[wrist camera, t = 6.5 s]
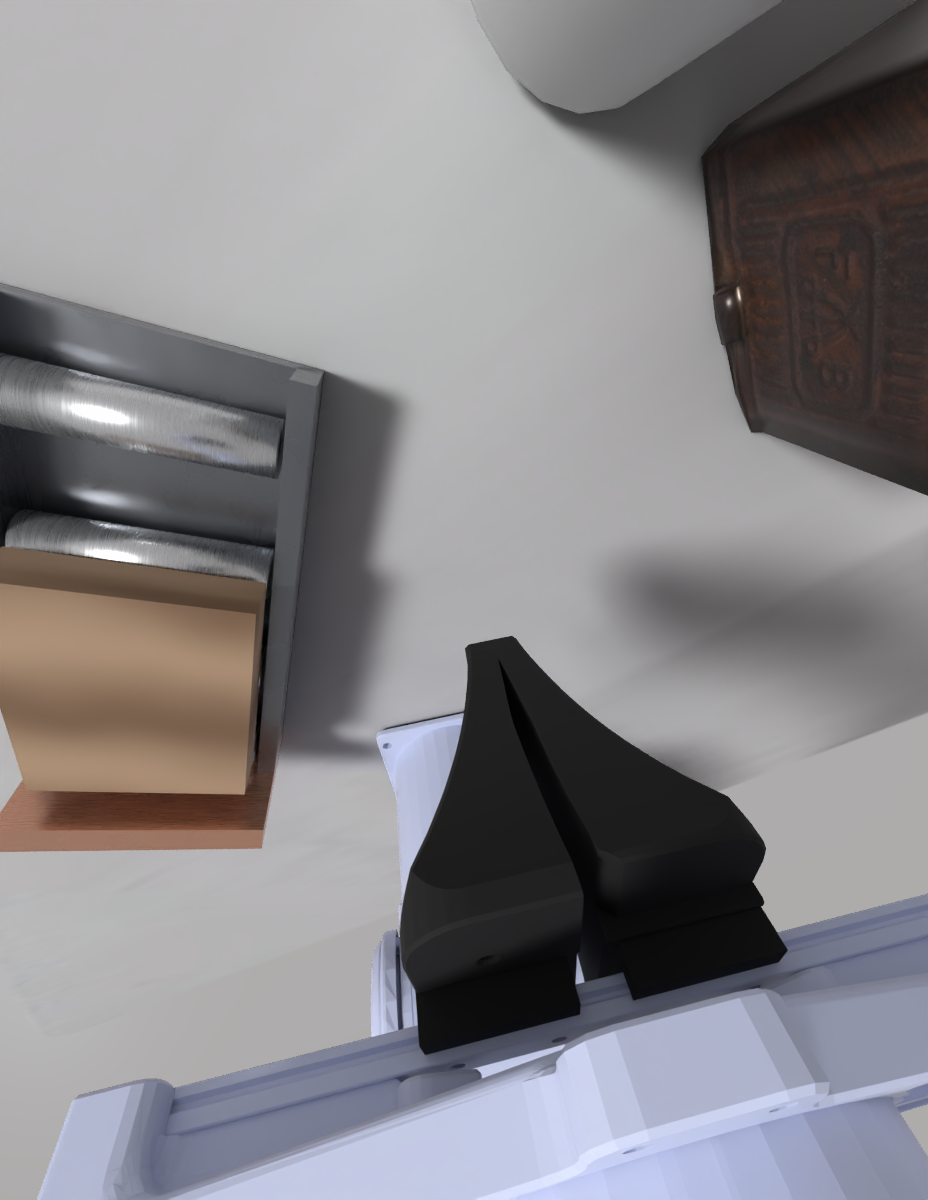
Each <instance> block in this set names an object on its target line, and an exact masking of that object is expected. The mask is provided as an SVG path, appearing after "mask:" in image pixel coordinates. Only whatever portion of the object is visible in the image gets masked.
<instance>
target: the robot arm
mask: <svg viewBox="0 0 928 1200" xmlns="http://www.w3.org/2000/svg"><path fill="white" fill-rule="evenodd" d="M465 651H466V657H467V664H468V681H467V692H466V702H465V709H464V713H461V714H457V715H452V716H447V717H443V718H438V719H433V720H429V721H424V722H419V723H415V724H410V725H405V726H401V727H396V728H391V729H386V730H382V731H380V732H379V733H378V734H377V744H378V747H379V749H380V752H381V755H382V758H383V761H384V763H385V766H386V769H387V772H388V775H389V778H390V780H391V783H392V786H393V789H394V792H395V794H396V802H397V820H398V838H399V856H400V874H401V893H402V904H400V905H399V906H398V908H399V927H400V937H399V936H398V932H397V930H392V931H387V932H385V933H384V935H383V938H382V941H380V943H379V944H378V946H377V947H376V949H375V950H374V953H373V960H372V974H371V1036H372V1037H370V1038H366V1039H362V1040H358V1041H354V1042H351V1043H347V1044H343V1045H339V1046H335V1047H331V1048H328V1049H323V1050H320V1051H316V1052H312V1053H308V1054H304V1055H300V1056H296V1057H293V1058H289V1059H285V1060H281V1061H277V1062H273V1063H269V1064H265V1065H261V1066H257V1067H254V1068H250V1069H246V1070H242V1071H238V1072H234V1073H231V1074H226V1075H223V1076H219V1077H215V1078H211V1079H207V1080H203V1081H199V1082H195V1083H192V1084H188V1085H184V1086H180V1087H176V1088H173V1086H172V1085H171V1084H169V1083H168V1082H167V1081H164V1080H161V1079H142V1080H136V1081H132V1082H128V1083H124V1084H120V1085H116V1086H112V1087H108V1088H105V1089H101V1090H97V1091H93V1092H89V1093H85V1094H81V1095H79V1096H78V1097H77V1098H75V1099H74V1100H73V1101H72V1103H71V1106H70V1109H69V1112H68V1114H67V1117H66V1120H65V1123H64V1126H63V1129H62V1131H61V1134H60V1137H59V1140H58V1143H57V1145H56V1148H55V1151H54V1154H53V1156H52V1159H51V1162H50V1165H49V1167H48V1170H47V1173H46V1176H45V1179H44V1181H43V1184H42V1187H41V1190H40V1192H39V1195H38V1198H37V1200H928V1156H927V1155H926V1153H925V1152H924V1150H923V1149H922V1147H921V1145H920V1144H919V1143H918V1141H917V1139H916V1138H915V1136H914V1134H913V1133H912V1131H911V1130H910V1128H909V1127H908V1125H907V1124H906V1122H905V1120H904V1119H903V1117H902V1116H901V1114H900V1113H901V1112H904V1111H907V1110H911V1109H914V1108H917V1107H920V1106H923V1105H927V1104H928V894H925V895H921V896H918V897H914V898H909V899H905V900H902V901H898V902H894V903H890V904H886V905H882V906H878V907H874V908H871V909H867V910H863V911H859V912H855V913H851V914H847V915H844V916H840V917H836V918H832V919H828V920H824V921H820V922H817V923H813V924H808V925H805V926H801V927H797V928H793V929H789V930H785V931H781V932H776V930H775V928H774V927H773V925H772V924H771V922H770V920H769V919H768V917H767V916H766V914H765V913H764V911H763V910H762V908H761V906H763V904H764V900H763V898H762V896H761V894H760V893H759V891H758V890H757V888H756V886H755V885H754V883H753V882H752V881H753V880H754V878H755V875H756V873H757V872H758V870H759V867H760V866H761V863H762V862H763V859H764V855H765V851H766V847H765V844H764V841H763V840H762V838H761V837H760V836H759V834H758V833H757V831H756V830H755V829H754V827H753V825H752V824H751V823H750V822H749V820H748V819H747V818H746V817H745V816H744V814H743V813H742V812H741V811H740V810H739V809H738V808H737V806H736V805H735V804H734V803H733V802H732V801H731V799H730V798H729V797H728V796H726V795H724V794H721V793H719V792H717V791H715V790H713V789H711V788H709V787H707V786H705V785H703V784H701V783H699V782H696V781H694V780H692V779H690V778H688V777H686V776H684V775H682V774H680V773H679V772H677V771H675V770H673V769H671V768H670V767H668V766H666V765H664V764H662V763H661V762H659V761H657V760H656V759H654V758H653V757H651V756H649V755H648V754H646V753H645V752H643V751H641V750H640V749H638V748H636V747H635V746H633V745H632V744H630V743H628V742H627V741H625V740H624V739H623V738H621V737H620V736H618V735H617V734H616V733H614V732H613V731H611V730H610V729H608V728H607V727H606V726H604V725H603V724H602V723H601V722H599V721H598V720H597V719H595V718H594V717H593V716H592V715H590V714H589V713H588V712H587V711H585V710H584V709H583V708H582V707H581V706H580V705H578V704H577V703H576V702H575V701H574V700H573V699H572V698H570V697H569V696H568V695H567V694H566V693H565V692H564V691H563V690H562V689H561V688H560V687H559V686H558V685H557V684H556V683H555V682H554V681H553V680H552V679H551V678H550V677H549V676H548V675H547V674H546V673H545V672H544V671H543V670H542V669H541V668H540V667H539V666H538V665H537V664H536V663H535V661H534V660H533V659H532V658H531V657H530V656H529V655H528V653H527V652H526V651H525V650H524V649H523V647H522V646H521V645H520V643H519V642H518V641H517V639H516V638H514V637H513V636H509V637H504V638H499V639H494V640H489V641H484V642H479V643H474V644H469V645H468V646H467V647H466V648H465ZM385 743H387V744H385Z"/></svg>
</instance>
